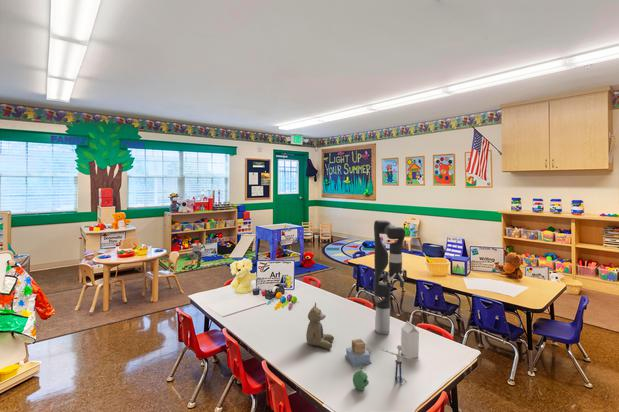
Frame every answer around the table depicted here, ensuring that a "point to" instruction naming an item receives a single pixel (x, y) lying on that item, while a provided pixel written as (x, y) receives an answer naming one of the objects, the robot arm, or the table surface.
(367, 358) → the pedestal
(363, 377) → the alien toy
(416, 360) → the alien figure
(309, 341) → the bear
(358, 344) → the walnut block
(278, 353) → the table surface
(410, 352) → the milk carton
